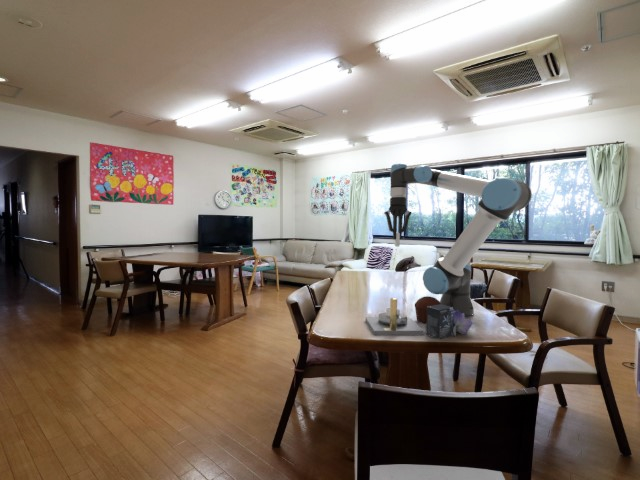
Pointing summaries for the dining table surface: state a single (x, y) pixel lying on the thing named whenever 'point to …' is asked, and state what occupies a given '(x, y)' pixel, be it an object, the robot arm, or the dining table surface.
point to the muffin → (424, 307)
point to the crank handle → (392, 316)
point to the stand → (385, 329)
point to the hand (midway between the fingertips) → (397, 246)
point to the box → (439, 321)
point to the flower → (460, 323)
